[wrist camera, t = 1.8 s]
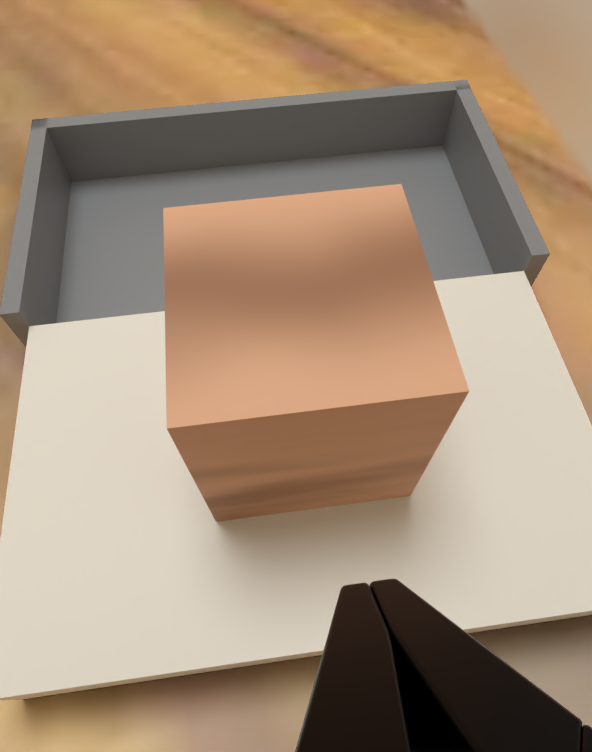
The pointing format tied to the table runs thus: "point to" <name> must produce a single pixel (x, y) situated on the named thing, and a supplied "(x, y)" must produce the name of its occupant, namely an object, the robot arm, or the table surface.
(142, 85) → the table surface
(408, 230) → the block
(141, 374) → the cream slab
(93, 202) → the box
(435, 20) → the table surface
